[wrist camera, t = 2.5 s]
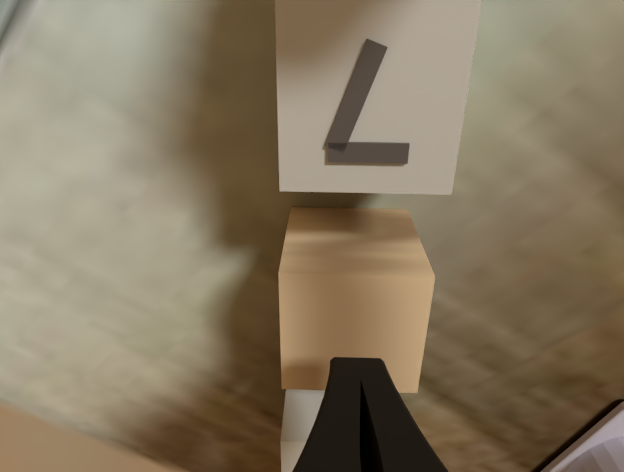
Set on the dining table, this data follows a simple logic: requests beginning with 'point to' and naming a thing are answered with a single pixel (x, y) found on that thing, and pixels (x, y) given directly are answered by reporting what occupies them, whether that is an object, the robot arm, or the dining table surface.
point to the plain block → (352, 294)
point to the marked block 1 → (297, 423)
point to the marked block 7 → (372, 93)
